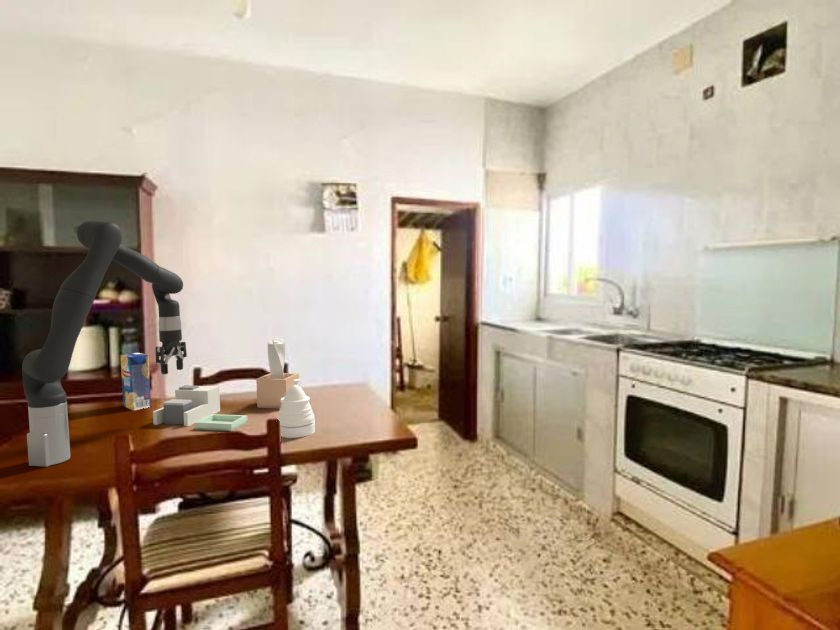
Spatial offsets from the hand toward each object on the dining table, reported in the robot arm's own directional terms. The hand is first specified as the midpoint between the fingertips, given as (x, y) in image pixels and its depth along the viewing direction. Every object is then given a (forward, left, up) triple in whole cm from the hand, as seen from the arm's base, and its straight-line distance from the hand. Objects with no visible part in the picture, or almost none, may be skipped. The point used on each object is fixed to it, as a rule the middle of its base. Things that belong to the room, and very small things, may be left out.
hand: (172, 371), depth 189 cm
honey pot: (-6, -51, -19) cm, 55 cm away
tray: (-3, -21, -19) cm, 28 cm away
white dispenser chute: (+5, -2, -19) cm, 20 cm away
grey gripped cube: (-1, -2, -19) cm, 19 cm away
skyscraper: (+29, -28, -19) cm, 45 cm away
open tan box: (+29, -28, -19) cm, 45 cm away
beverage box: (+17, +30, -19) cm, 40 cm away
